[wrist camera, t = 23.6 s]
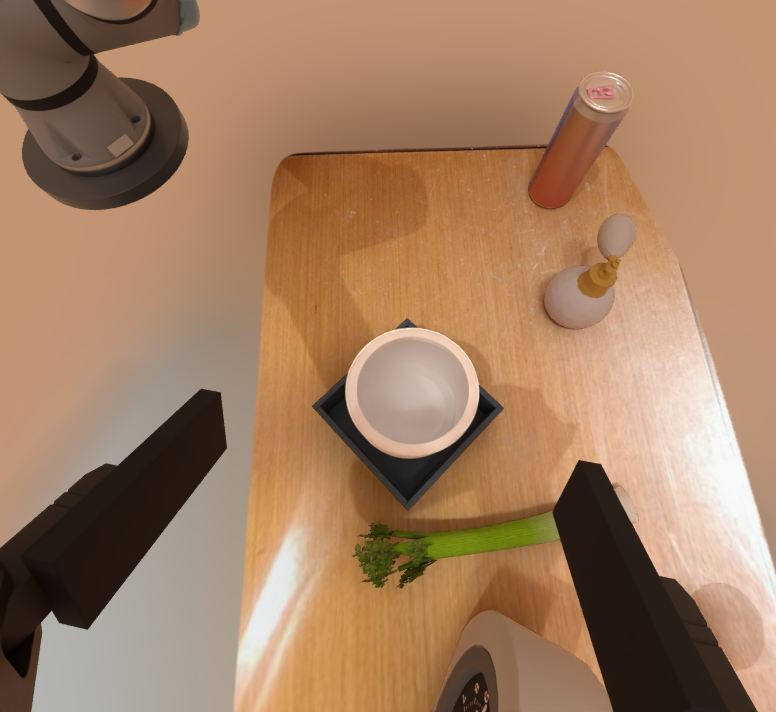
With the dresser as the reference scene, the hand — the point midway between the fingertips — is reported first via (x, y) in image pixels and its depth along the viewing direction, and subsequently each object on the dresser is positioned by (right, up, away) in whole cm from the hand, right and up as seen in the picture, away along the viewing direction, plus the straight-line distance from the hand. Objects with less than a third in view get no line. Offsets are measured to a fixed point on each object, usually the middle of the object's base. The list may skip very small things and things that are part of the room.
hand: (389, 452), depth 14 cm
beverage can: (+23, +27, +39) cm, 53 cm away
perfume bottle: (+23, +11, +34) cm, 42 cm away
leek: (+11, -15, +27) cm, 32 cm away
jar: (+2, -3, +30) cm, 30 cm away
